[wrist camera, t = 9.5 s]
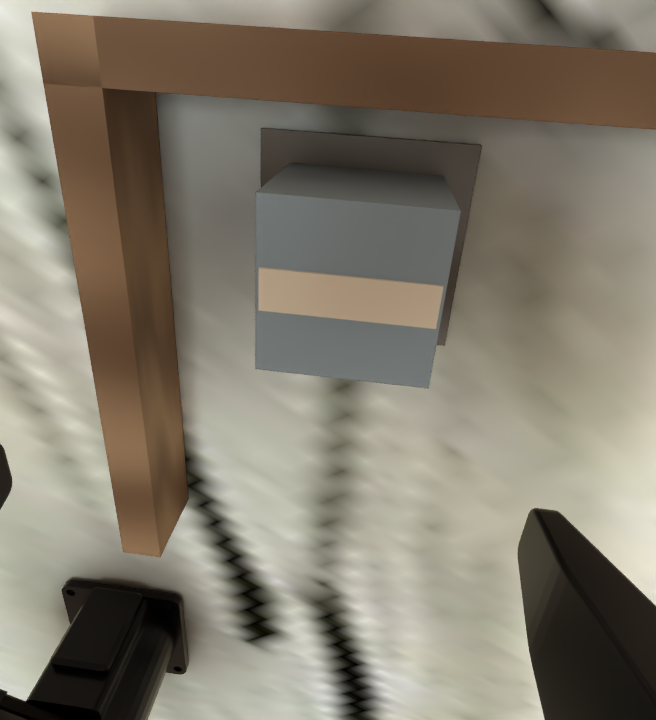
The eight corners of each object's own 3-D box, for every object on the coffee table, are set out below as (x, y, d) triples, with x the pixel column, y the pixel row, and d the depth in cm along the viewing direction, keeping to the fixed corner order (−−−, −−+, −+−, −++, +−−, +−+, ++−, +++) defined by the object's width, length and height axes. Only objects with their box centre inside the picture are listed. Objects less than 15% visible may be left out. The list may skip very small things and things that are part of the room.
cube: (443, 175, 17) (461, 211, 13) (420, 318, 20) (428, 390, 15) (290, 162, 18) (254, 192, 13) (285, 304, 20) (254, 370, 15)
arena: (553, 544, 24) (576, 613, 21) (155, 494, 26) (123, 552, 22) (730, 65, 15) (815, 63, 12) (99, 23, 16) (31, 11, 13)
